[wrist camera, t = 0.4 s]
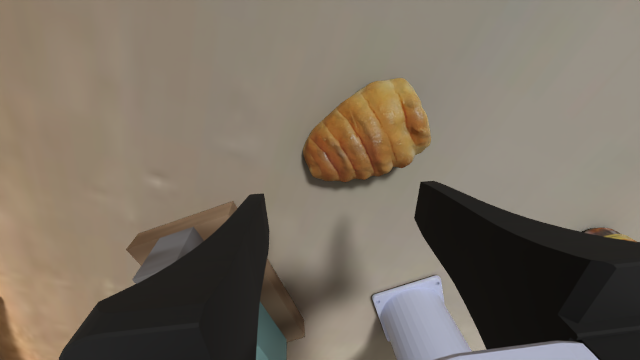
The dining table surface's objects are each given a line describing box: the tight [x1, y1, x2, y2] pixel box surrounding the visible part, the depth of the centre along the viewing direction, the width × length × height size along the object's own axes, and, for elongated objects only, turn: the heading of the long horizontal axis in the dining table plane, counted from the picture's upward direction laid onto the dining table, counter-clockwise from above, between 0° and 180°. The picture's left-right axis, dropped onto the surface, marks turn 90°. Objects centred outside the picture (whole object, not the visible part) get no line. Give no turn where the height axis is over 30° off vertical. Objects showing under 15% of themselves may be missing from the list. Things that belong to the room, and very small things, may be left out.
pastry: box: [303, 78, 431, 182], centre depth 19 cm, size 9×7×4 cm
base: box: [126, 201, 305, 342], centre depth 24 cm, size 18×9×6 cm, turn 18°
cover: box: [256, 302, 287, 360], centre depth 25 cm, size 12×5×4 cm, turn 18°
